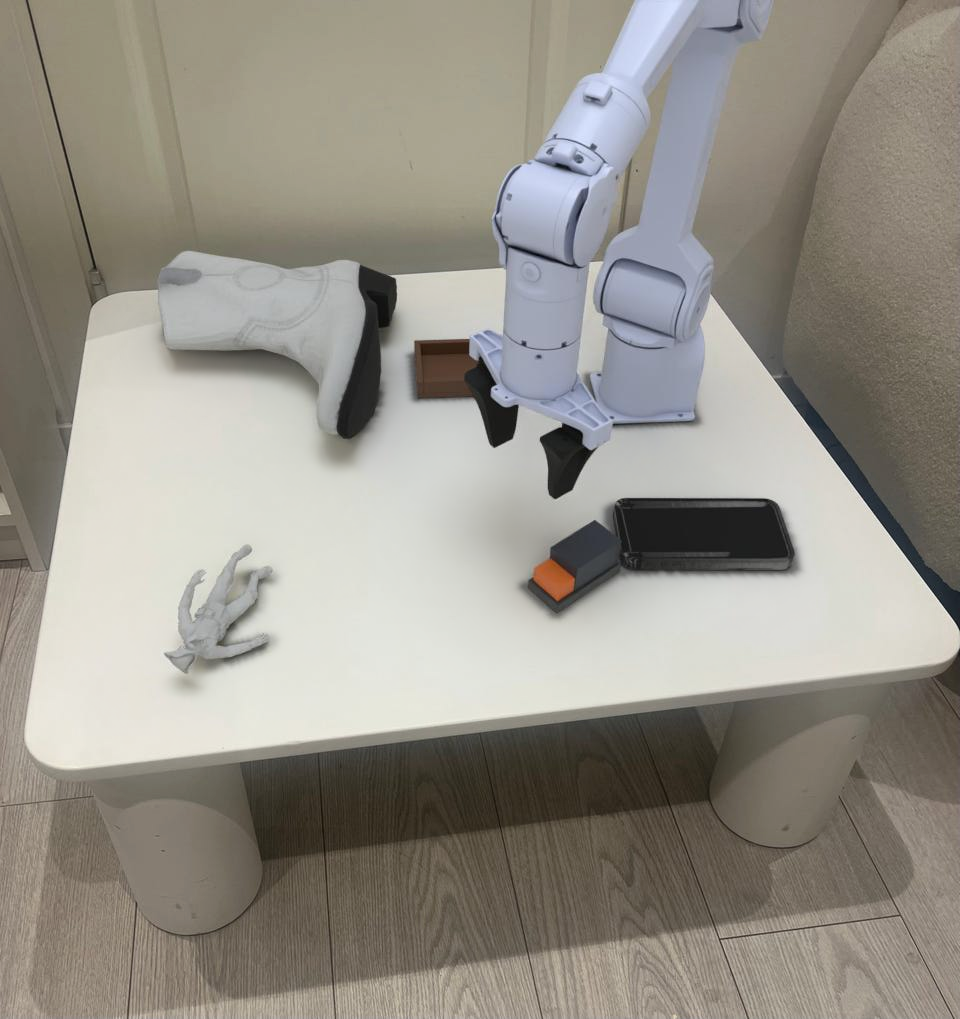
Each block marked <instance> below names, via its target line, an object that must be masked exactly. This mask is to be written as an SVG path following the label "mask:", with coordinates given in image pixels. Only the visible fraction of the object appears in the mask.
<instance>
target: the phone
mask: <svg viewBox="0 0 960 1019" xmlns="http://www.w3.org/2000/svg"><path fill="white" fill-rule="evenodd" d="M612 517H613V523H614V529H615V536H616V537H618V538H619V539H620V540H621V541H622V542H621V548H620V553H619V559H620V563H621V565H623V567H625V568H627V569H630V570H635V571H636V570H638V571H639V570H640V571H643V570H644V571H650V570H651V571H654V570H657V571H660V570H661V571H665V570H667V571H673V570H674V571H675V570H677V571H679V570H680V571H681V570H683V571H686V570H687V571H690V570H691V571H692V570H693V571H694V570H696V571H698V570H699V571H704V570H705V571H707V570H708V571H709V570H710V571H711V570H713V571H717V570H718V571H722V570H723V571H728V570H730V571H736V570H737V571H740V570H741V571H743V570H744V571H754V570H755V571H758V570H759V571H760V570H761V571H763V570H764V571H766V570H767V571H768V570H769V571H770V570H771V571H773V570H774V571H778V570H779V571H781V570H787V569H788V568H790V567H791V566H792V563H793V560H794V558H795V554H796V553H795V549H794V546H793V543H792V540H791V537H790V533H789V531H788V528H787V525H786V522H785V518H784V517H783V513H782V510H781V507H780V505H779V504H778V503H777V502H776V501H774V500H773V499H770V498H766V497H765V498H764V497H762V498H761V497H753V498H752V497H621V498H619V499H617V500H616V501H615V503H614V506H613V511H612Z"/></svg>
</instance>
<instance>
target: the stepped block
mask: <svg viewBox="0 0 960 1019" xmlns="http://www.w3.org/2000/svg"><path fill="white" fill-rule="evenodd" d="M621 542H622V541H621V540H620V539H619V538H618V537H617V536H616V534H614V533H613V532H612V531H610V530H609V529H608V528H607V527H605V526H604V525H603V524H602V523H600V522H599V521H598V520H596V519H593V520H592V521H590V522H589V523H587V524H586V525H584V526H582V527H581V528H578V529H577V530H576V531H574V532H573V533H571V534H569V535H568V536H566V537H565V538H563V539H561V540H560V541H558V542H557V543H555V544H554V545H552V546H550V549H549V556H548V557H549V558H548V559H546V560H545V561H543V562H542V563H540V564H538V565H537V566H535V567H534V569H533V576H532V577H531V578H529V579H528V581H527V588H528V589H529V591H531V592H532V593H533V594H534V595H535V596H536V597H537V598H538V599H540V600H541V601H542V602H543V603H545V605H546V606H548V607H549V608H550V609H551V610H552V611H554V612H555V614H558V613H559V612H561V611H562V610H564V609H565V608H567V607H568V606H570V605H571V604H573V603H575V602H576V601H577V600H579V599H581V598H582V597H583V596H585V595H586V594H588V593H589V592H591V591H592V590H593V589H595V588H597V587H598V586H600V585H601V584H603V583H604V582H606V581H607V580H608V579H610V578H612V577H613V576H614V575H616V574H617V573H619V572H621V567H622V562H621V561H619V559H620V548H621Z"/></svg>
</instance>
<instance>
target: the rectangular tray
mask: <svg viewBox="0 0 960 1019" xmlns="http://www.w3.org/2000/svg"><path fill="white" fill-rule="evenodd" d="M413 346H414V347H413V348H414V352H413V353H414V354H413V355H414V367H415V381H416V382H415V383H416V393H417V398H418V399H430V398H431V399H432V398H434V399H435V398H459V397H460V398H461V397H474V396H473V394H472V393H471V391H470V389H469V388H468V386H467V385H466V383H465V382H464V375H465V373H466V372H467V371H469V370H471V369H473V368H475V367H476V364H479V361H477V360H475V359H473V358H472V357H471V356H470V355H469V346H470V338H452V339H451V338H450V339H449V338H448V339H447V338H446V339H421V340H420V339H419V340H418V339H416V340H414V341H413Z"/></svg>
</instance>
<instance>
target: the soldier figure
mask: <svg viewBox="0 0 960 1019" xmlns="http://www.w3.org/2000/svg"><path fill="white" fill-rule="evenodd" d="M252 550H253V547H252V546H251V545H250V544H248V543H247V544H244V545H242V547H241V548H240V549H239V550H237V551H236V552H235V551H234V552H233V553H232V555H231V557H230V559H229V560H228V562H227V563H226V564H225V565H224V567H223V568H222V571H221V573H220V574H219V575H218V576H217V577H216V581H215V584H214V586H213V587H212V589H211V590H210V593H209V594H208V597H207V598H206V600H205V603H203V604H202V605H201V606H200V608H198V609H197V610H196V612H195V613H194V616H193V618H194V620H193V618H192V615H191V612H190V610H191V608H192V603H193V599H194V594H195V590H196V589H195V588H196V586H198V585H201V584H202V583H204V582H205V580H206V579H202V578H203V577H204V576H205V575H206V574H207V571H206V570H205V569H203V568H202V569H198V570H197V571H196V572H195V573H193V575H192V576H191V579H190V580H189V582H188V584H186V586H185V589H184V591H183V594H182V596H181V599H180V601H179V605H178V607H177V611H178V612H177V619H178V622H177V624H178V630H177V632H178V633H179V635H180V636H181V639H182V641H183V642H182V643H183V646H179V647H178V648H177V649H176V650H173V651H167V652H163V655H164V657H166V658H167V659H168V660H169V661H170V663H171V664H172V665H173V666H174V667H175V668H177V669H178V670H179V671H181V672H182V673H183V674H185V675H188V673H189V670H190V666H192V665H193V664H194V663H195V662H196V660H197V656H200V657H202V658H203V659H206V660H213V659H214V660H216V659H224V658H231V657H234V656H238V655H241V654H244V653H247V652H249V651H251V650H252V649H254V648H256V647H259V646H262V645H263V644H265V643H267V642H268V641H269V640H270V638H269V635H268V634H267V633H264V632H262V633H261V634H259V635H258V636H256V637H255V638H254V639H252V640H251V641H244V642H240V643H236V644H230V645H226V646H224V645H220V644H219V645H218V642H220V641H222V640H223V639H224V637H225V636H226V634H227V629H229V627H230V625H231V624H233V623H234V622H235V621H236V620H237V619H239V617H241V616H242V615H243V614H245V612H246V611H247V610H248V609H249V608H250V607H251V606H252V605H254V604H255V602H256V600H258V597H259V592H258V585H259V581H260V580H262V579H265V578H267V577H269V576H271V574H272V573H273V571H274V570H273V568H272V567H271V566H269V565H265V566H263V567H262V568H261V569H260V570H258V571H253V572H251V574H250V575H249V581H248V584H247V586H246V588H245V590H244V591H243V594H242V595H239V596H238V597H237V598H236V599H235V600H233V601H232V602H230V603H227V601H228V600H227V599H228V594H229V591H230V590H231V588H232V586H233V583H234V580H235V577H234V576H235V571H236V568H237V565H238V562H240V561H241V560H243V559H244V558H246V557H247V556H249V555H250V554H251V553H252ZM201 579H202V580H201Z"/></svg>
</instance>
